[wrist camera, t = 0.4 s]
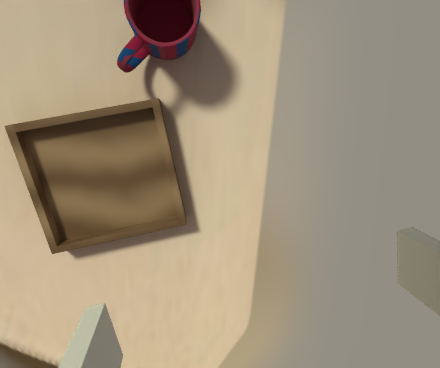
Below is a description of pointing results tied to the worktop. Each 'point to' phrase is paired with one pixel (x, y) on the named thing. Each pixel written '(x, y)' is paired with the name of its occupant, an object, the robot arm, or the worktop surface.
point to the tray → (99, 174)
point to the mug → (159, 30)
